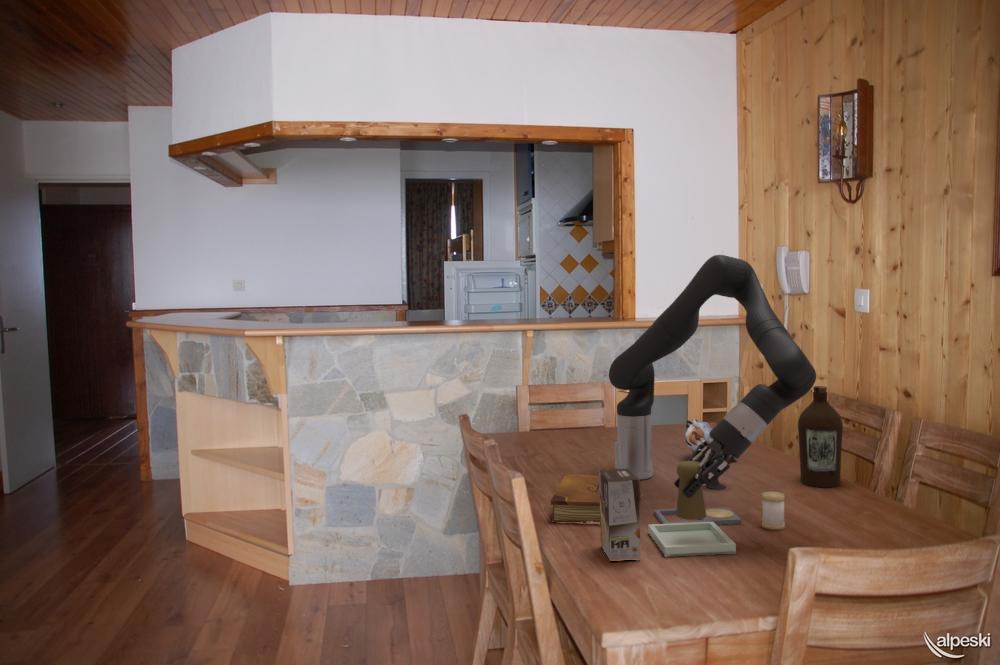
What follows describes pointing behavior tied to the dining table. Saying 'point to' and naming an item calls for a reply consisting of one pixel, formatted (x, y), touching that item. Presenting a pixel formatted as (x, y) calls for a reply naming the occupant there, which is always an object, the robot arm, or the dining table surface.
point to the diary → (578, 499)
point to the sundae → (716, 483)
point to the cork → (695, 504)
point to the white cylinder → (773, 510)
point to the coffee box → (619, 514)
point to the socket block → (712, 515)
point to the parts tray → (691, 539)
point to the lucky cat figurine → (699, 435)
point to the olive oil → (820, 442)
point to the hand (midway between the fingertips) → (681, 490)
